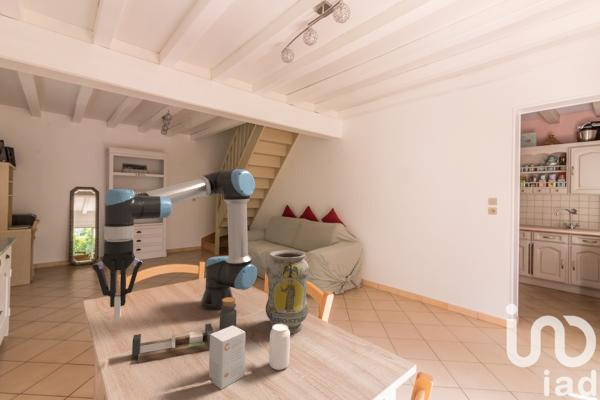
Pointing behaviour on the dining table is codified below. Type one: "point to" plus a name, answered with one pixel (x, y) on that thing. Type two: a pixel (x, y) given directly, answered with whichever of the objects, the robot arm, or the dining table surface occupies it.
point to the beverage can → (279, 346)
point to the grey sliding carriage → (149, 346)
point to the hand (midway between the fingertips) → (117, 316)
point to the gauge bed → (178, 347)
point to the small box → (227, 356)
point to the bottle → (228, 313)
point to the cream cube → (195, 337)
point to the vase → (287, 289)
